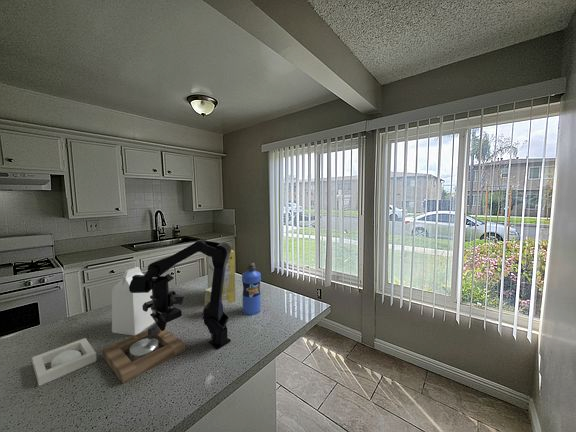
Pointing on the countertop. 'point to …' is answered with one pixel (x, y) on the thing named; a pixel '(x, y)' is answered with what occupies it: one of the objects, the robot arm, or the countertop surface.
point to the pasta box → (225, 278)
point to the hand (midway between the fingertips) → (162, 330)
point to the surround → (133, 369)
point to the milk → (129, 307)
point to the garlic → (65, 357)
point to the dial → (145, 344)
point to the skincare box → (207, 295)
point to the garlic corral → (65, 368)
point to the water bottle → (251, 290)
